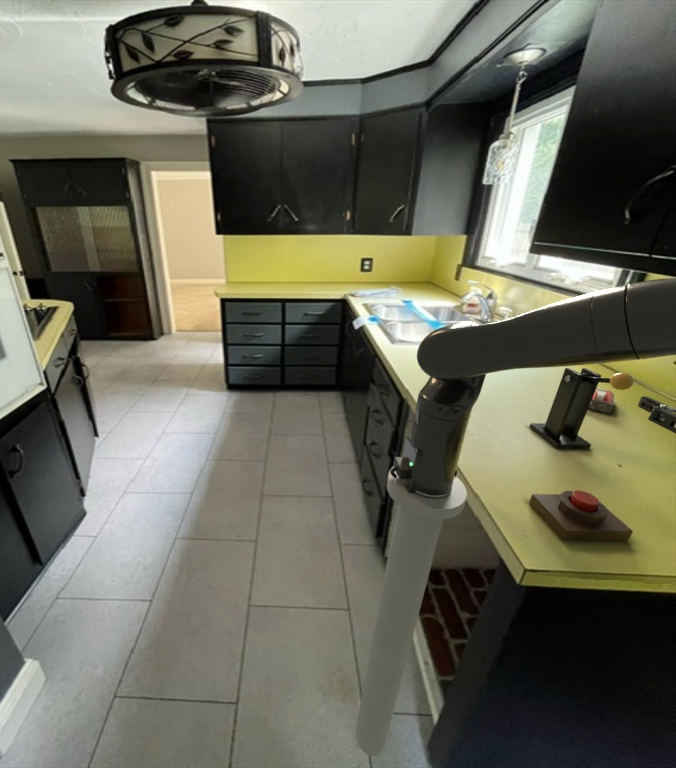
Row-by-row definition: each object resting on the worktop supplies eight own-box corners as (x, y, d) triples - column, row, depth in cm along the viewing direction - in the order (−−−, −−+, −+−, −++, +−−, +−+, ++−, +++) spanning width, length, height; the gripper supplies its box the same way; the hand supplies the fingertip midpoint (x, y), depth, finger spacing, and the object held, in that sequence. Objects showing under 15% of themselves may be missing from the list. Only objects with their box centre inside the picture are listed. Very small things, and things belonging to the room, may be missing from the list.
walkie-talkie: (575, 391, 116) (568, 413, 102) (580, 379, 114) (574, 399, 100) (611, 400, 110) (609, 424, 97) (617, 386, 109) (615, 409, 95)
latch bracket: (589, 448, 86) (619, 380, 79) (556, 448, 86) (582, 379, 79) (559, 427, 95) (583, 364, 88) (529, 427, 95) (550, 363, 88)
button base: (563, 540, 61) (571, 522, 59) (528, 502, 69) (535, 486, 67) (628, 540, 61) (638, 522, 59) (586, 503, 69) (593, 486, 68)
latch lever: (638, 390, 73) (639, 372, 72) (620, 390, 73) (621, 372, 72) (582, 386, 86) (583, 370, 85) (567, 385, 86) (568, 370, 85)
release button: (580, 512, 62) (583, 504, 61) (564, 497, 65) (567, 490, 64) (601, 512, 62) (604, 504, 61) (584, 498, 65) (588, 490, 64)
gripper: (844, 430, 50) (713, 382, 64) (741, 429, 50) (634, 381, 64) (811, 474, 53) (693, 419, 68) (713, 473, 53) (617, 418, 67)
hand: (664, 401), depth 66 cm, fingers open, 8 cm apart
